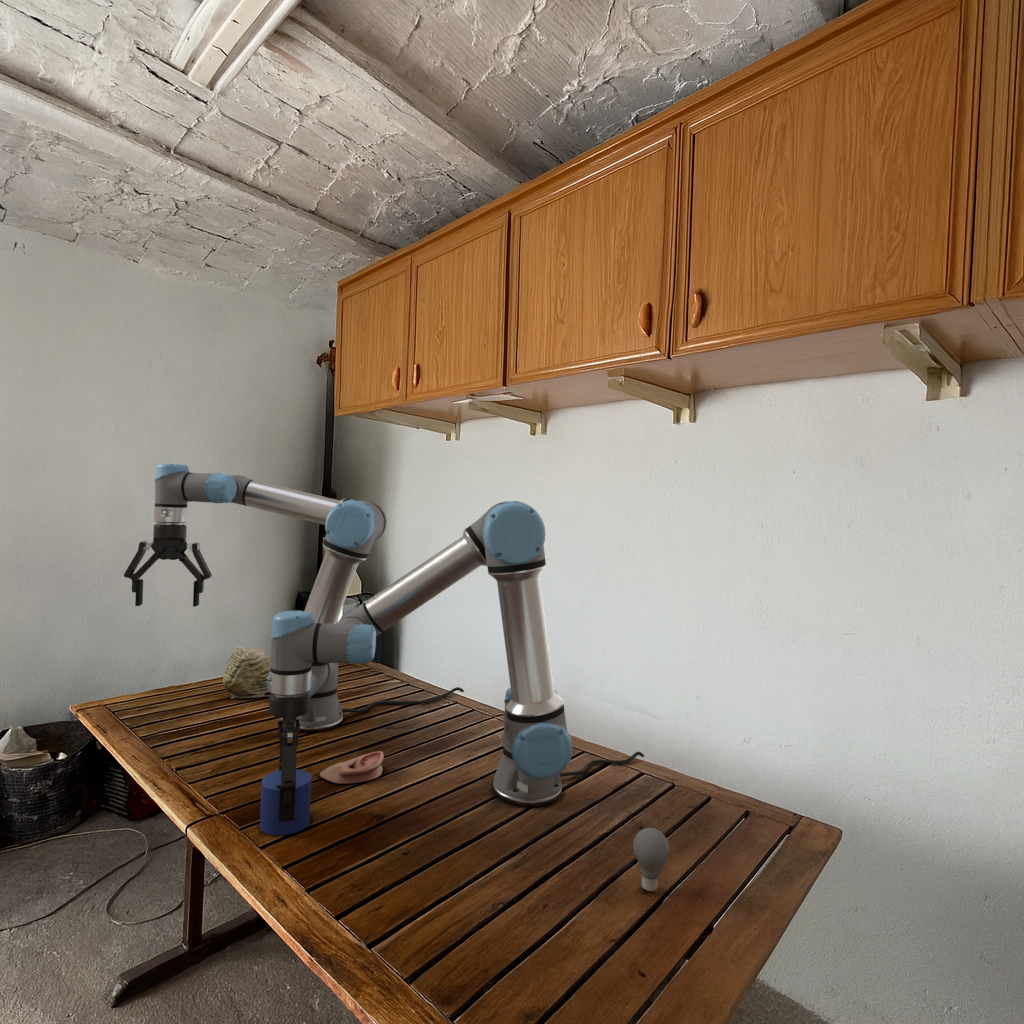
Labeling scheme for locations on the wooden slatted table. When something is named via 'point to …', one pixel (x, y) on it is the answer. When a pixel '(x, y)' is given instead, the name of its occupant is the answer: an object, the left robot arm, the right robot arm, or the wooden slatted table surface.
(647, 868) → the light bulb
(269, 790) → the cylinder
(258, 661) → the fossil
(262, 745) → the wooden slatted table surface
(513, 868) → the wooden slatted table surface
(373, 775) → the anatomical model
